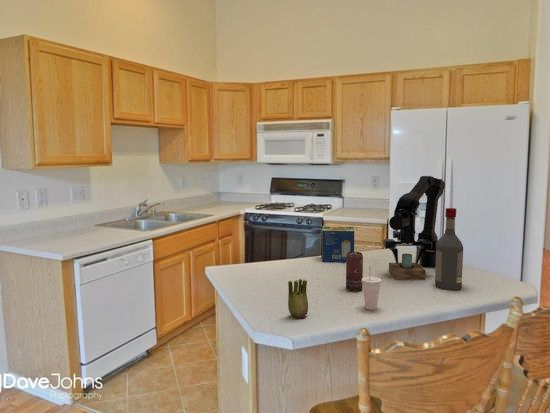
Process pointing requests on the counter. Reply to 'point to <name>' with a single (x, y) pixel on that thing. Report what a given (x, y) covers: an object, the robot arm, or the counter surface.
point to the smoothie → (371, 291)
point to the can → (354, 271)
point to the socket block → (407, 272)
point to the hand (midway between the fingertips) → (406, 264)
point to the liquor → (449, 256)
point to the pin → (406, 260)
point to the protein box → (337, 243)
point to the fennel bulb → (297, 299)
